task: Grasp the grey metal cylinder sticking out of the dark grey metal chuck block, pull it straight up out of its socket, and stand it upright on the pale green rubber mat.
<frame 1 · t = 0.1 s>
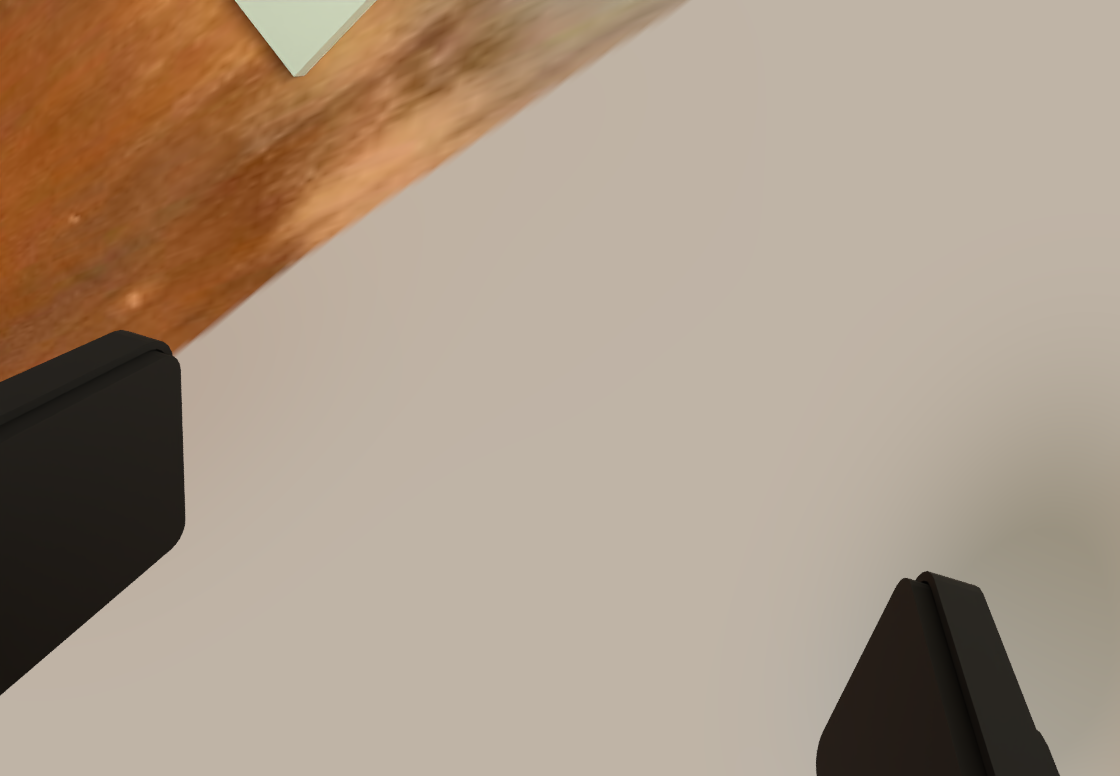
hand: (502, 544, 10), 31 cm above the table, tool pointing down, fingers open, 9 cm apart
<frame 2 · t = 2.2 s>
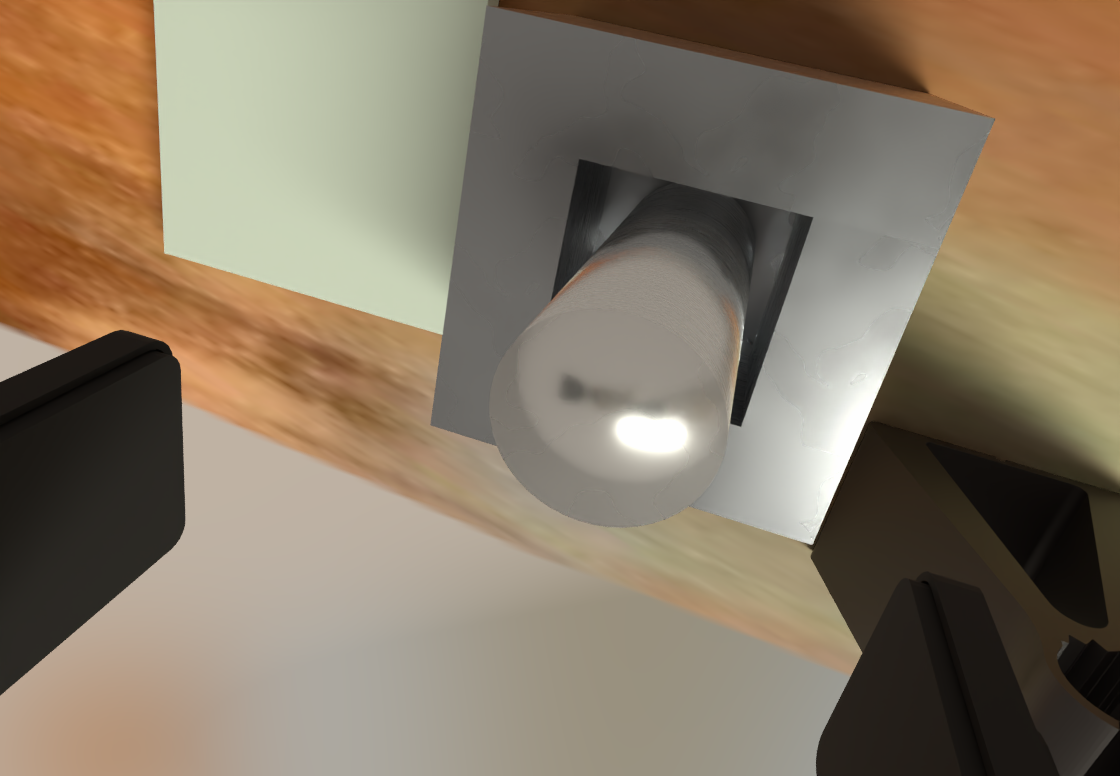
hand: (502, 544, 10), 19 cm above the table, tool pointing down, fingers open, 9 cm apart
chuck block: (697, 228, 26), on the table
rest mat: (321, 131, 28), on the table
grey metal cylinder: (686, 249, 23), point 3 cm above the table, touching chuck block
phone stand: (961, 523, 28), on the table
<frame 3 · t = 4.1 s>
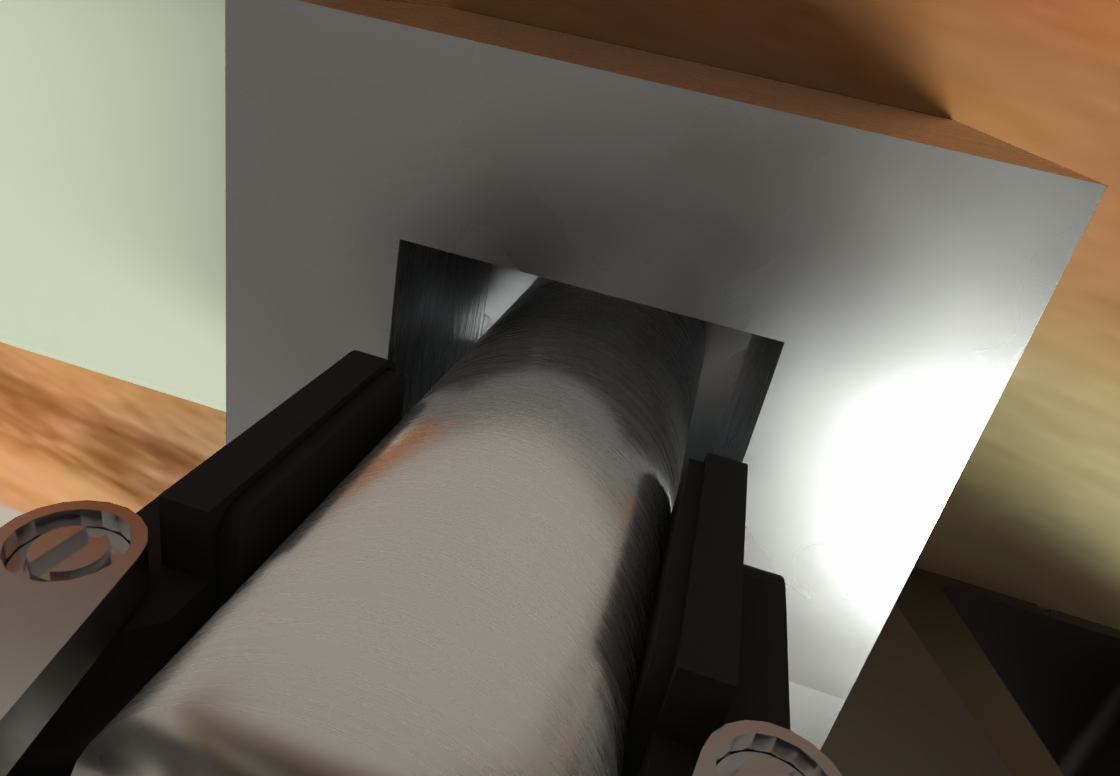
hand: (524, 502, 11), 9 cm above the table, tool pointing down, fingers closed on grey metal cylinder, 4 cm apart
chuck block: (630, 300, 19), on the table
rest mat: (126, 165, 21), on the table
grey metal cylinder: (608, 343, 16), point 3 cm above the table, touching chuck block, gripper
phone stand: (988, 683, 21), on the table
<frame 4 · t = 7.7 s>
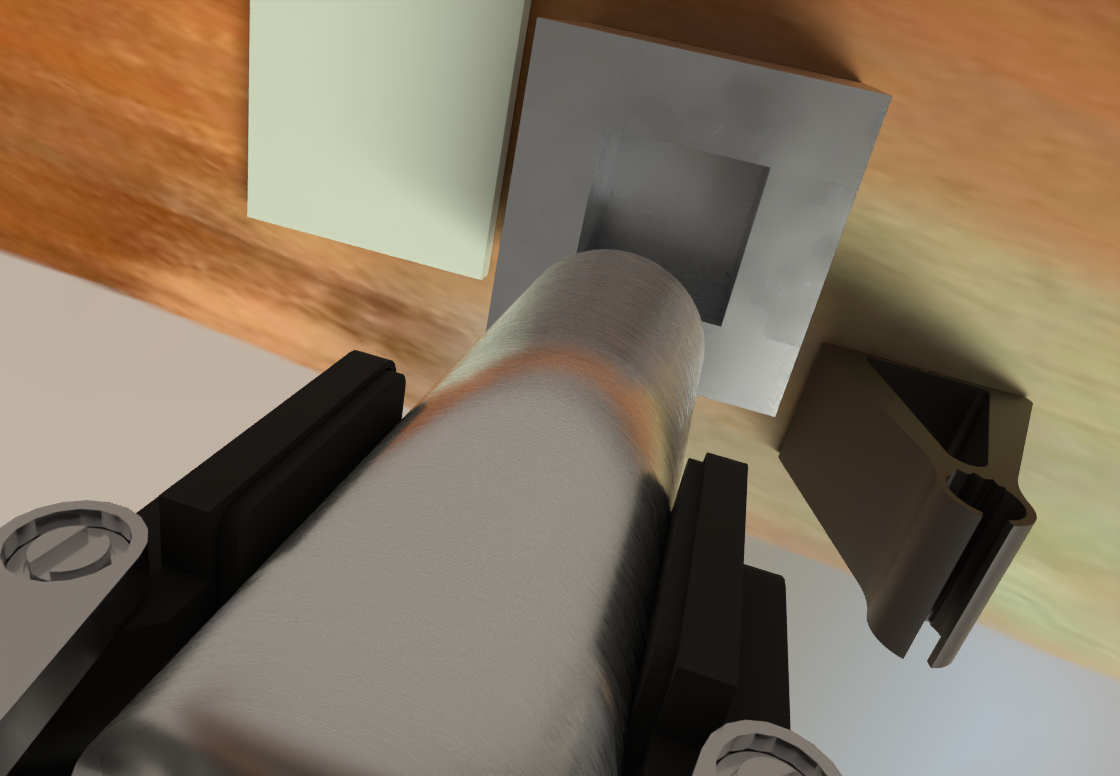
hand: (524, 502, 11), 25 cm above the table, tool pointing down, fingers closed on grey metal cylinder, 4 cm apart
chuck block: (685, 189, 33), on the table
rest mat: (382, 114, 35), on the table
grey metal cylinder: (608, 343, 16), point 19 cm above the table, touching gripper
phone stand: (896, 425, 35), on the table
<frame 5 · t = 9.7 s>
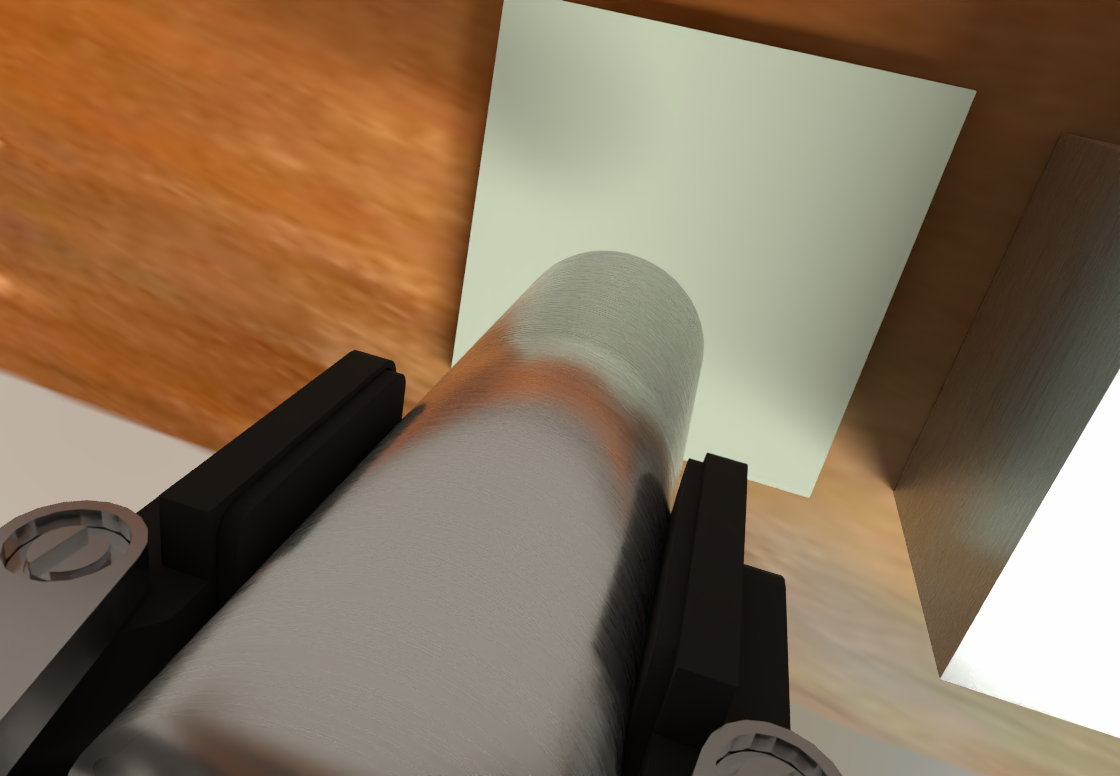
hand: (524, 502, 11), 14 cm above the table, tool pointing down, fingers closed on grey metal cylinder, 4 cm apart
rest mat: (674, 255, 23), on the table
grey metal cylinder: (607, 344, 16), point 8 cm above the table, touching gripper
when the fingers open (9 cm above the table, at t = 11.3 s): grey metal cylinder drops 1 cm, resting on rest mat.
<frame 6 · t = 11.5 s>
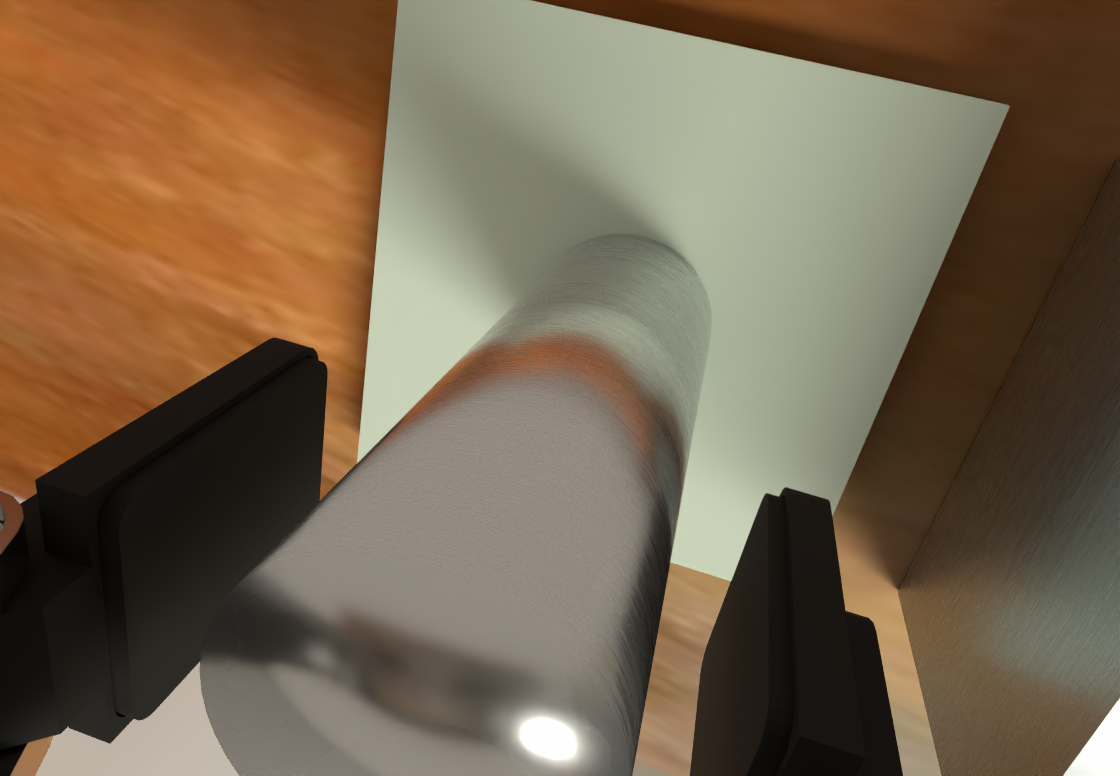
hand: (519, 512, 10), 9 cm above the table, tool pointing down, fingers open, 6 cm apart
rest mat: (626, 306, 18), on the table
grey metal cylinder: (622, 321, 18), point 1 cm above the table, touching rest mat
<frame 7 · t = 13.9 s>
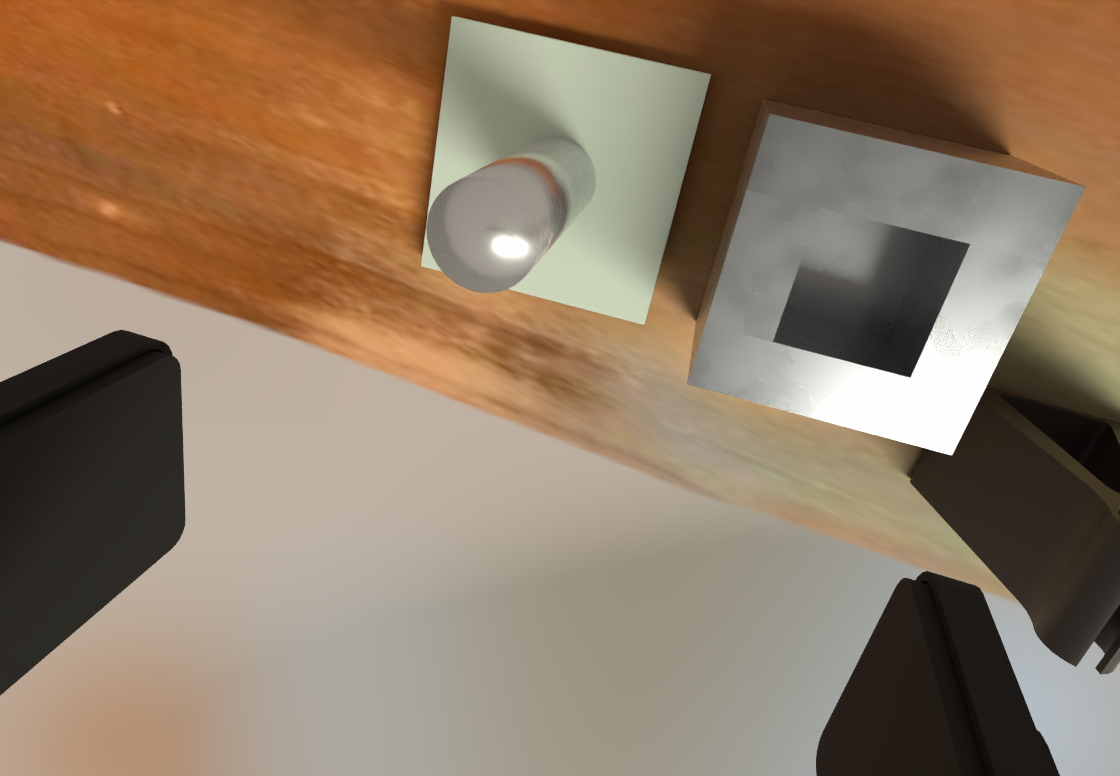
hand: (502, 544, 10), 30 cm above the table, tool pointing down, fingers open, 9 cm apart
chuck block: (840, 245, 37), on the table
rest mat: (557, 175, 38), on the table
grey metal cylinder: (554, 179, 37), point 1 cm above the table, touching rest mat
phone stand: (1019, 453, 39), on the table
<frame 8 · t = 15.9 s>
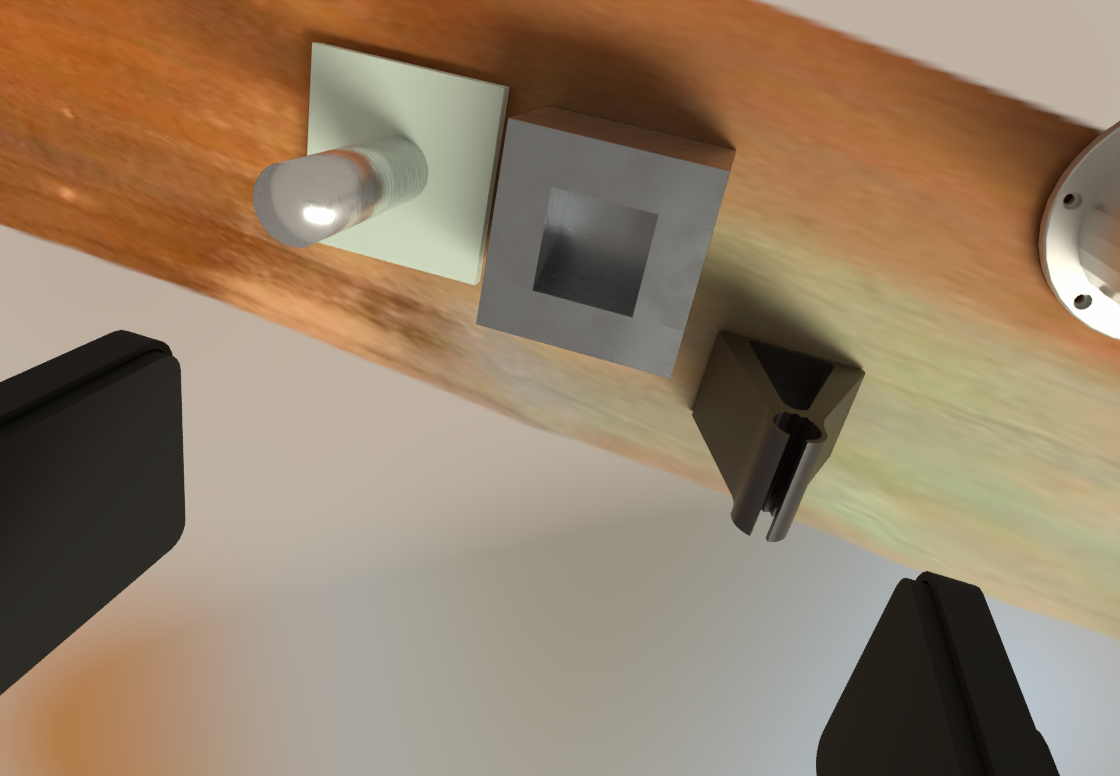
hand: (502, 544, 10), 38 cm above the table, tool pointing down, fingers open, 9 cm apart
chuck block: (619, 221, 46), on the table
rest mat: (403, 166, 48), on the table
grey metal cylinder: (397, 168, 47), point 1 cm above the table, touching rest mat
phone stand: (775, 390, 49), on the table
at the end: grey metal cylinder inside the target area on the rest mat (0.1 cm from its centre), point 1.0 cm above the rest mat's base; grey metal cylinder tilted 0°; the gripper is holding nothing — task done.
